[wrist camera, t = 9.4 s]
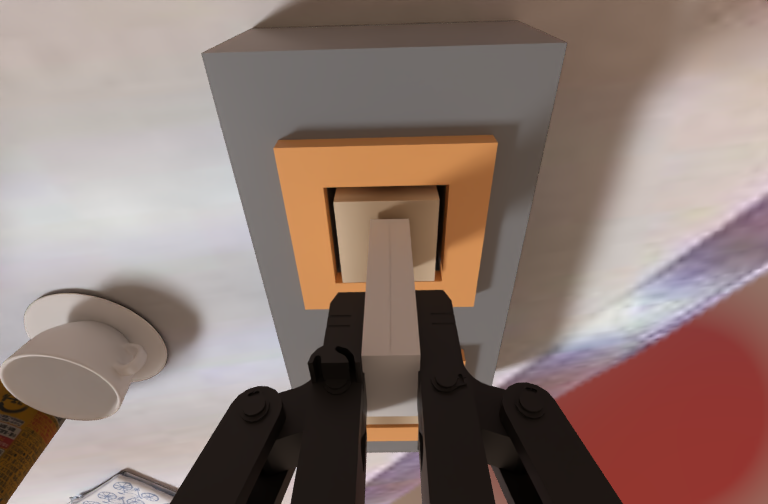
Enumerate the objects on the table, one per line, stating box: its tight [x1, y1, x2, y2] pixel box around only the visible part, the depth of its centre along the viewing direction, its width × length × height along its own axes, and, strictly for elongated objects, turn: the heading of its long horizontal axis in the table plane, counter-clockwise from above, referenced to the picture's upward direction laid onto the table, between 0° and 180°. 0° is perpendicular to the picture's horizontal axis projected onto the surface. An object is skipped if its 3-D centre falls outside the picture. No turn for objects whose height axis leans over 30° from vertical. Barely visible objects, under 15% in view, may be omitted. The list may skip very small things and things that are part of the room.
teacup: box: [0, 293, 167, 421], centre depth 29 cm, size 10×10×5 cm
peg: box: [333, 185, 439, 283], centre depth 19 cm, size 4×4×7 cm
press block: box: [201, 21, 567, 453], centre depth 23 cm, size 12×26×7 cm, turn 1°
